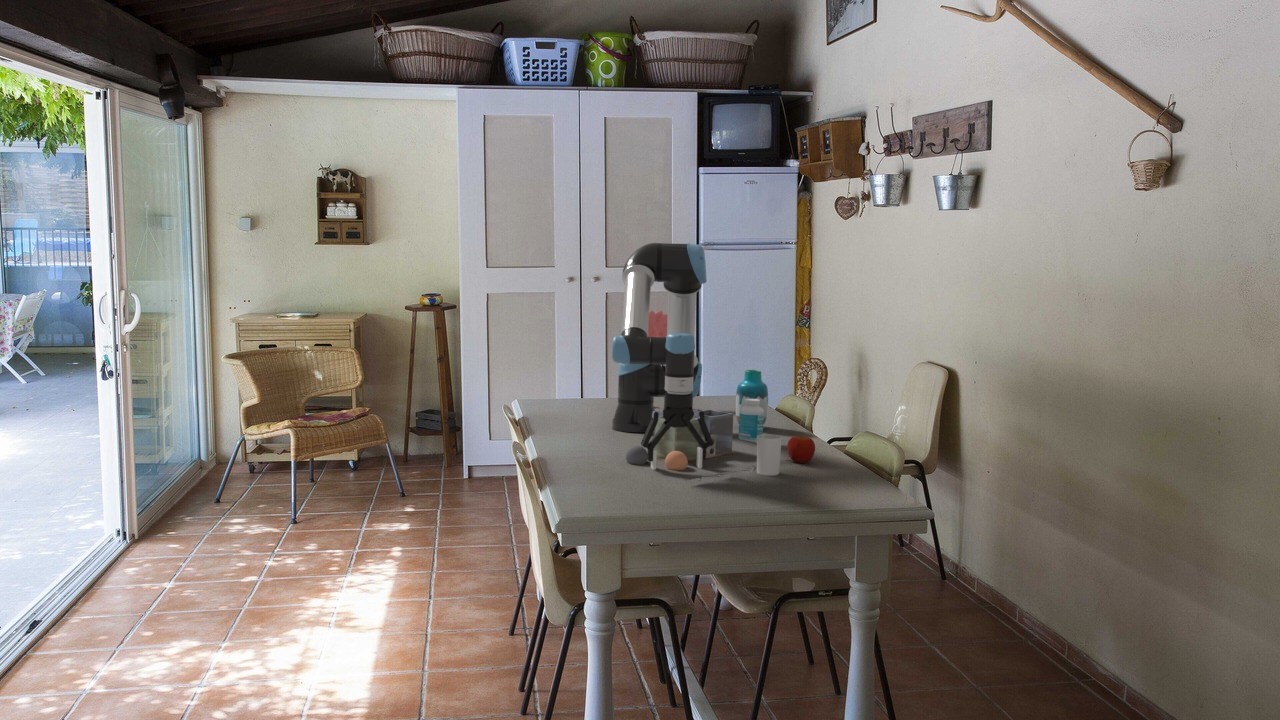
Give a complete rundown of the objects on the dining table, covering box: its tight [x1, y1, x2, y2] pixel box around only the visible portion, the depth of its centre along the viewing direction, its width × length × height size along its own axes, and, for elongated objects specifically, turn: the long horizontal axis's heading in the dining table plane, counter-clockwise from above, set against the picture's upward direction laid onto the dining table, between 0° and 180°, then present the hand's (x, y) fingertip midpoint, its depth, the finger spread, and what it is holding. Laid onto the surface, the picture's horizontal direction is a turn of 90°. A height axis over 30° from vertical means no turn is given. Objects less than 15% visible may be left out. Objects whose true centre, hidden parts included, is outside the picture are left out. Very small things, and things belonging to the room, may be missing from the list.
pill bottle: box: [738, 399, 764, 444], centre depth 313 cm, size 8×7×14 cm
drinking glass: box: [756, 433, 783, 477], centre depth 274 cm, size 7×7×10 cm
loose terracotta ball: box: [664, 451, 689, 471], centre depth 271 cm, size 6×6×6 cm
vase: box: [735, 369, 769, 426], centre depth 337 cm, size 11×11×19 cm
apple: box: [786, 435, 816, 464], centre depth 288 cm, size 8×8×8 cm
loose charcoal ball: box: [625, 445, 648, 466], centre depth 276 cm, size 6×6×6 cm
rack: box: [652, 408, 739, 463], centre depth 288 cm, size 12×26×12 cm, turn 134°
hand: (676, 472), depth 271 cm, fingers open, 12 cm apart
